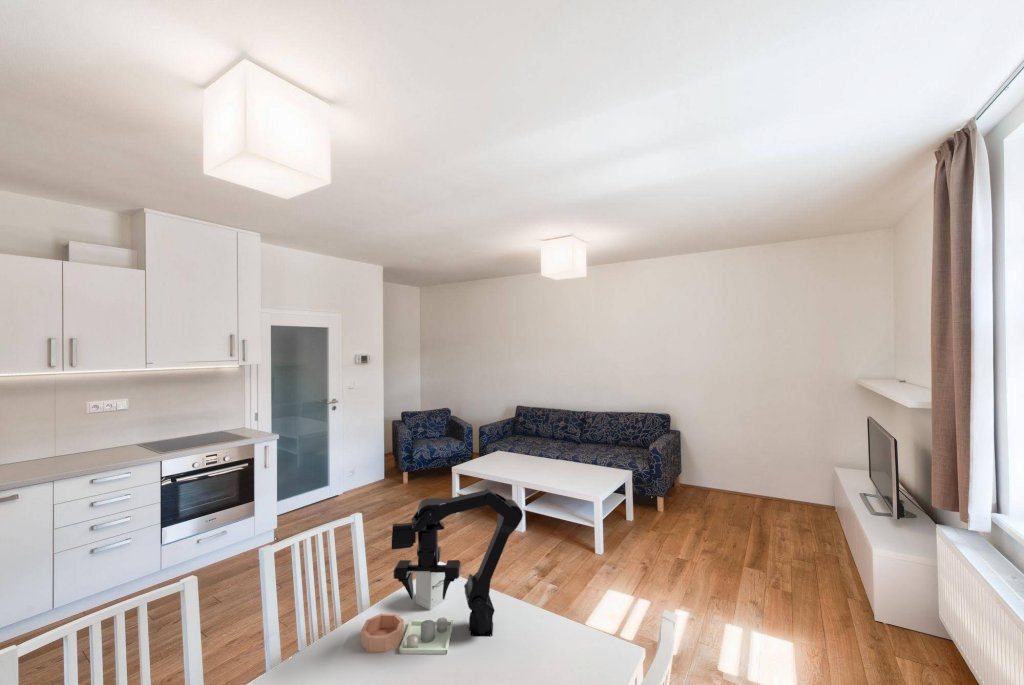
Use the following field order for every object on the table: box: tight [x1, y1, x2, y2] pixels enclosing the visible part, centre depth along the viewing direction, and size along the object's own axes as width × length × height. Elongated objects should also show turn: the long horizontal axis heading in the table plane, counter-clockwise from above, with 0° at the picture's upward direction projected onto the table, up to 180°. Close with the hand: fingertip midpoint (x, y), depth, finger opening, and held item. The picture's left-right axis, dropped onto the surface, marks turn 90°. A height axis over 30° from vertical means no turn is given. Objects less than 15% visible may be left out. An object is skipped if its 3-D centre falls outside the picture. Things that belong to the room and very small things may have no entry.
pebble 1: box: [407, 634, 418, 648], centre depth 120 cm, size 3×3×3 cm
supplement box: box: [415, 561, 447, 611], centre depth 142 cm, size 7×7×13 cm
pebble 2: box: [436, 617, 448, 633], centre depth 128 cm, size 3×3×3 cm
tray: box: [398, 619, 454, 655], centre depth 124 cm, size 13×13×2 cm
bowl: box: [360, 613, 405, 653], centre depth 124 cm, size 11×11×4 cm
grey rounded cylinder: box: [421, 619, 435, 643], centre depth 124 cm, size 4×4×4 cm
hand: (428, 598), depth 124 cm, fingers open, 9 cm apart
